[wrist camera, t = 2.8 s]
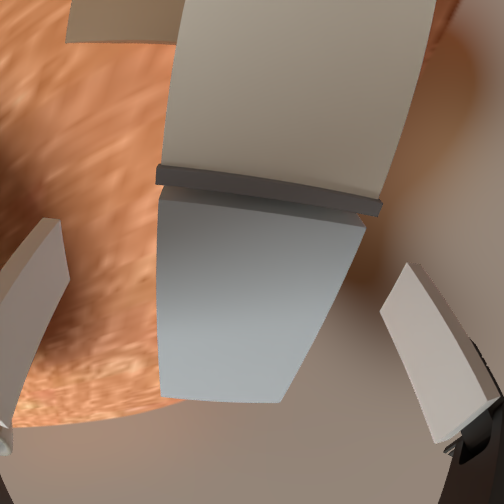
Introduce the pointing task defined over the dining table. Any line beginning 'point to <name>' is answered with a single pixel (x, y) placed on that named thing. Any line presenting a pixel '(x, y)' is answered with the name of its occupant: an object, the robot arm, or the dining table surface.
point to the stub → (243, 290)
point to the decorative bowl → (6, 440)
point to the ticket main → (277, 90)
